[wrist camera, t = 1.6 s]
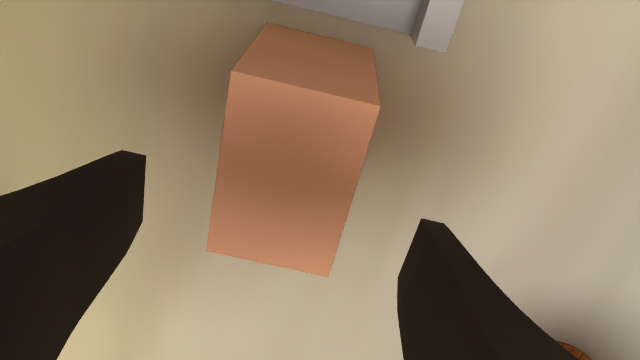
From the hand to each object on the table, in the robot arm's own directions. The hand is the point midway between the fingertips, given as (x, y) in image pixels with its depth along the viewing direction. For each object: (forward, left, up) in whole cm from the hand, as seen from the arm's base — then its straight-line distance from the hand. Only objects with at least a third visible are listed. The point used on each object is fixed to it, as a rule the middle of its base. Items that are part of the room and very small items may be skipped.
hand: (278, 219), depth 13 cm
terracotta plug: (0, 0, -8) cm, 8 cm away
